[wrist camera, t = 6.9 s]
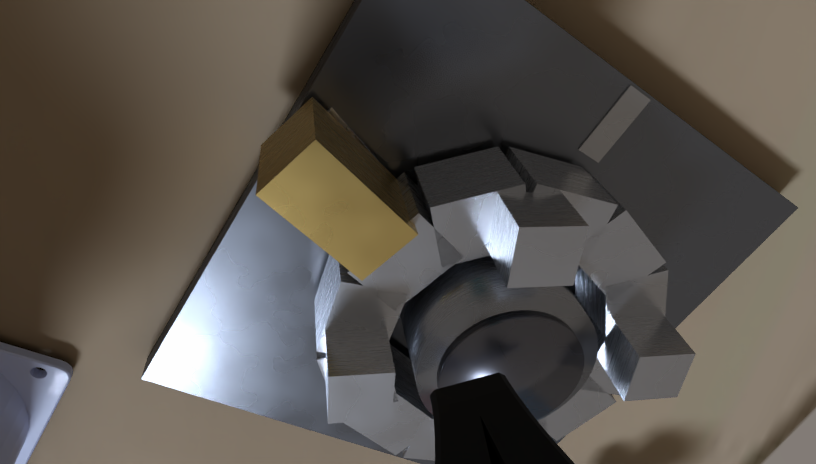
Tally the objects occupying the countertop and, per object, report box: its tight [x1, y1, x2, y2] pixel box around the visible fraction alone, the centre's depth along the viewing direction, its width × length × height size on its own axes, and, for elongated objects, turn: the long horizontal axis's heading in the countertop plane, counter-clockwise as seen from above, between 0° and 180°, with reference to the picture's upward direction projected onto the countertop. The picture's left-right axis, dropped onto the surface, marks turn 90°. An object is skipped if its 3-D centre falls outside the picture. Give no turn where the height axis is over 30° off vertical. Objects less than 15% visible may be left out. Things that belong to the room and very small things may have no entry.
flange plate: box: [141, 0, 798, 464], centre depth 21 cm, size 17×17×1 cm
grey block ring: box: [256, 97, 695, 461], centre depth 18 cm, size 11×14×4 cm
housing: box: [400, 255, 598, 421], centre depth 20 cm, size 6×6×5 cm
